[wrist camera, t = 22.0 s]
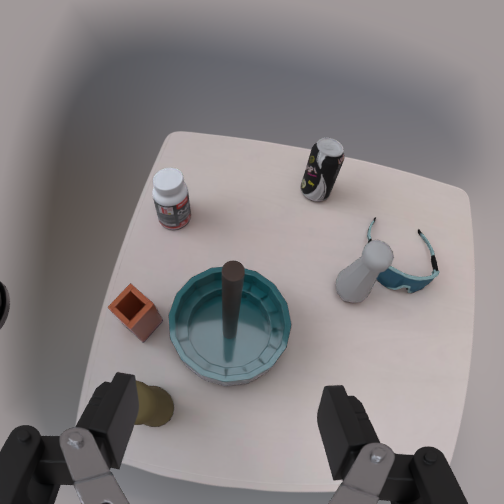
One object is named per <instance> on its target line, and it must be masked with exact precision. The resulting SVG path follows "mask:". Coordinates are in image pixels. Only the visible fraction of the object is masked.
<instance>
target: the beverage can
mask: <svg viewBox="0 0 504 504" xmlns="http://www.w3.org/2000/svg"><path fill="white" fill-rule="evenodd" d="M343 150H344V149H343V146H342V145H341V144H340V143H339V142H338V141H336V140H334V139H332V138H321V139H320V140H319V141H318V142H317V143H316V144H315V145H314V146H313V147H312V150H311V153H310V156H309V160H308V163H307V167H306V170H305V173H304V177H303V180H302V183H301V191H302V193H303V194H304V195H305V196H306V197H307V198H309V199H311V200H313V201H323V200H326V199H327V198H328V197H329V195H330V193H331V190H332V188H333V185H334V183H335V181H336V178H337V176H338V173H339V171H340V168H341V166H342V163H343V161H344V153H343Z"/></svg>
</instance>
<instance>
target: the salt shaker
mask: <svg viewBox="0 0 504 504" xmlns="http://www.w3.org/2000/svg"><path fill="white" fill-rule="evenodd" d="M393 258H394V257H393V251H392V250H391V248H390V246H389V245H387V244H386V243H385V242H383V241H380V240H372V241H371V242H369V243H368V244H367V245H365V247H364V249H363V252H362V256H361V257H360V258H359V259H357V260H356V261H355V262H353V263H352V264H351V265H349V266H348V267H347V268H345V269H344V270H342V271H341V272H340V273H339V275H338V277H337V279H336V290H337V293H338V294H339V296H340V297H341V298H342V299H343V301H348V302H353V303H356V302H361V301H363V300H364V299H365V298H366V297H368V295H369V293H370V291H371V289H372V287H373V285H374V283H375V281H376V279H377V277H378V275H379V273H380V272H384V271H385V270H386V269H388V268H389V267H390V266H391V264H392V261H393Z"/></svg>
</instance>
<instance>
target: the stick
mask: <svg viewBox="0 0 504 504" xmlns="http://www.w3.org/2000/svg"><path fill="white" fill-rule="evenodd" d="M244 275H245V269H244V266H243V265H242V264H241V263H240V262H238V261H229V262H227V263H225V264H224V265H223V267H222V325H223V335H224V337H225V338H227V339H232V338H234V337H235V336H236V334H237V327H238V319H239V312H240V304H241V297H242V290H243V282H244Z"/></svg>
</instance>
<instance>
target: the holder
mask: <svg viewBox="0 0 504 504" xmlns="http://www.w3.org/2000/svg"><path fill="white" fill-rule="evenodd" d="M108 309H109V310H110V311H111V312H112V313H113V314H114V315H115V316H116V317H117V318H118V319H119V320H120V321H121V322H122V323H123V324H124V325H125V326H126V327H127V328H128V329H129V330H130V331H131V332H132V333H133V334H134V335H135V336H136V337H137V338H138V339H140V340H141V341H142V342H144V341H145V340H146V339H147V338H148V337H149V336H150V335H151V333H152V332H153V331H154V330H155V329H156V328H157V327H158V326H159V325H160V323H161V322H162V321H163V319H162V317H161V316H160V314H159V312H158V310H157V309H156V307H155V305H154V304H153V303H152V302H151V301H150V300H149V299H148V298H147V297H145V296H144V295H143V294H142V293H141V292H140V291H139V290H138V289H136V288H135V287H134V286H133V285H132V284H131V283H130V284H129V285H128V286H127V287H126V288H125V289H124V291H123V292H122V293H121V294H120V295H119V296H118V297H117V298H116V299H115V300H114V301H113V302H112V303H111V304H110V305H109V306H108Z"/></svg>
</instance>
